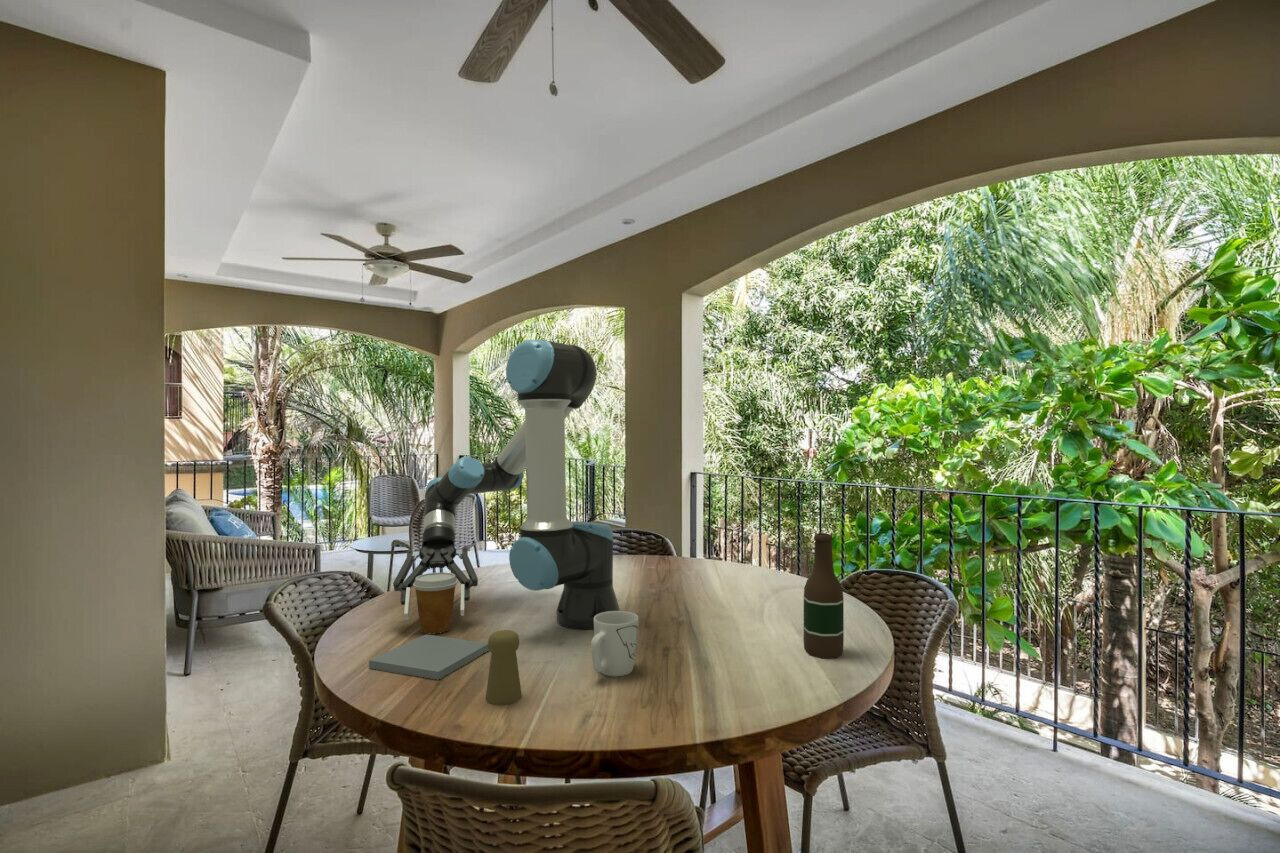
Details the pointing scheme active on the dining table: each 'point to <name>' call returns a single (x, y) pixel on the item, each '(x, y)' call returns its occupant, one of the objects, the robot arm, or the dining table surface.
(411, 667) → the slate board
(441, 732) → the dining table surface
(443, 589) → the disposable coffee cup
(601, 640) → the mug
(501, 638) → the olive pawn
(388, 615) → the dining table surface
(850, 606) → the dining table surface
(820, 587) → the beer bottle
